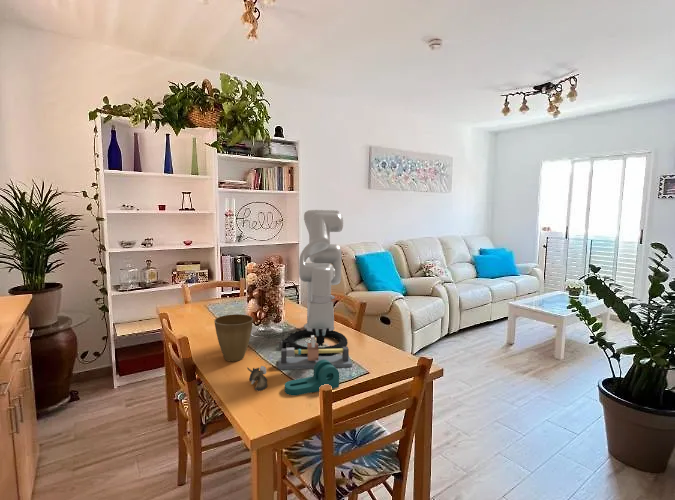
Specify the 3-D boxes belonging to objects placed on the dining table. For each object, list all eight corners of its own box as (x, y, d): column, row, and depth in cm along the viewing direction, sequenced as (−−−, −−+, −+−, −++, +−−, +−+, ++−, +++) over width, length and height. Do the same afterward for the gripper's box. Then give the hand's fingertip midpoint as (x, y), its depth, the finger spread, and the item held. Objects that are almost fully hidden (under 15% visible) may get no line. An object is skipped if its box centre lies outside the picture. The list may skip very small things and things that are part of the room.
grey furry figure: (240, 378, 131) (243, 385, 123) (251, 359, 133) (255, 364, 124) (259, 387, 133) (264, 395, 125) (270, 369, 135) (275, 375, 126)
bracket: (331, 379, 135) (331, 358, 134) (338, 387, 128) (339, 365, 128) (282, 388, 127) (282, 366, 126) (287, 397, 121) (288, 374, 120)
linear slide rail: (278, 360, 149) (278, 345, 148) (348, 358, 153) (348, 343, 152) (278, 369, 141) (278, 353, 140) (351, 366, 145) (352, 350, 144)
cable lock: (357, 345, 158) (286, 352, 149) (356, 353, 159) (286, 362, 149) (335, 325, 184) (274, 330, 174) (335, 332, 185) (274, 338, 175)
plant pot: (258, 361, 148) (258, 321, 146) (219, 368, 141) (218, 327, 139) (247, 348, 161) (247, 311, 159) (211, 354, 154) (210, 316, 152)
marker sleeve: (307, 355, 149) (307, 335, 148) (317, 355, 149) (317, 335, 148) (307, 360, 144) (308, 339, 143) (318, 360, 144) (318, 339, 144)
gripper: (338, 296, 149) (337, 340, 151) (300, 296, 147) (300, 342, 149) (341, 300, 142) (340, 347, 144) (301, 301, 140) (301, 349, 142)
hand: (320, 344), depth 146 cm, fingers closed
